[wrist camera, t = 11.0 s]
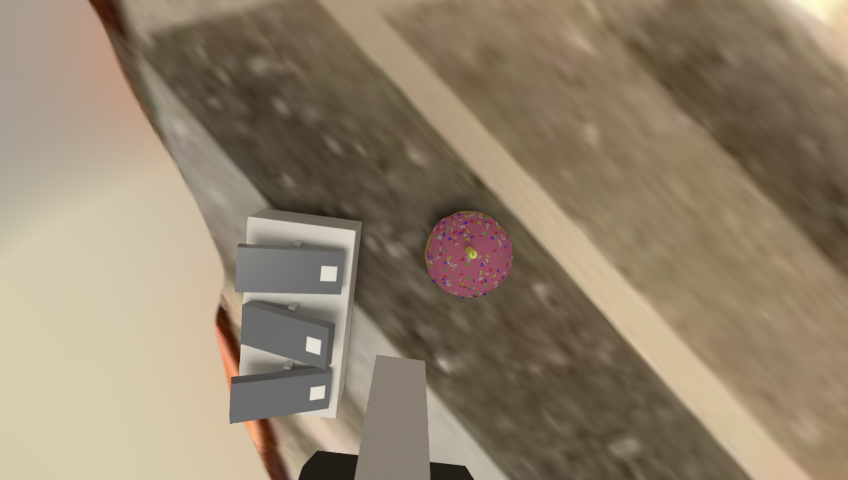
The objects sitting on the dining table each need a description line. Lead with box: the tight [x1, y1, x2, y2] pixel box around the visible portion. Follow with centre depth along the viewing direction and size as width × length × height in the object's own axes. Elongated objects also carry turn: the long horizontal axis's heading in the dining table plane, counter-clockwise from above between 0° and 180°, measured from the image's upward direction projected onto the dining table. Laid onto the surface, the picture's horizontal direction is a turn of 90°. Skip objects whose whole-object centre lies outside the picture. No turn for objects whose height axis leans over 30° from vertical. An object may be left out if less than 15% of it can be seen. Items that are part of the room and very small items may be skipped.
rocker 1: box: [235, 244, 345, 295], centre depth 38 cm, size 4×9×1 cm, turn 82°
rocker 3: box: [230, 366, 332, 424], centre depth 40 cm, size 4×9×1 cm, turn 82°
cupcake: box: [425, 211, 513, 298], centre depth 39 cm, size 9×8×12 cm
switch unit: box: [239, 209, 362, 418], centre depth 43 cm, size 20×10×6 cm, turn 172°
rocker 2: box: [241, 301, 336, 369], centre depth 39 cm, size 4×9×1 cm, turn 82°
